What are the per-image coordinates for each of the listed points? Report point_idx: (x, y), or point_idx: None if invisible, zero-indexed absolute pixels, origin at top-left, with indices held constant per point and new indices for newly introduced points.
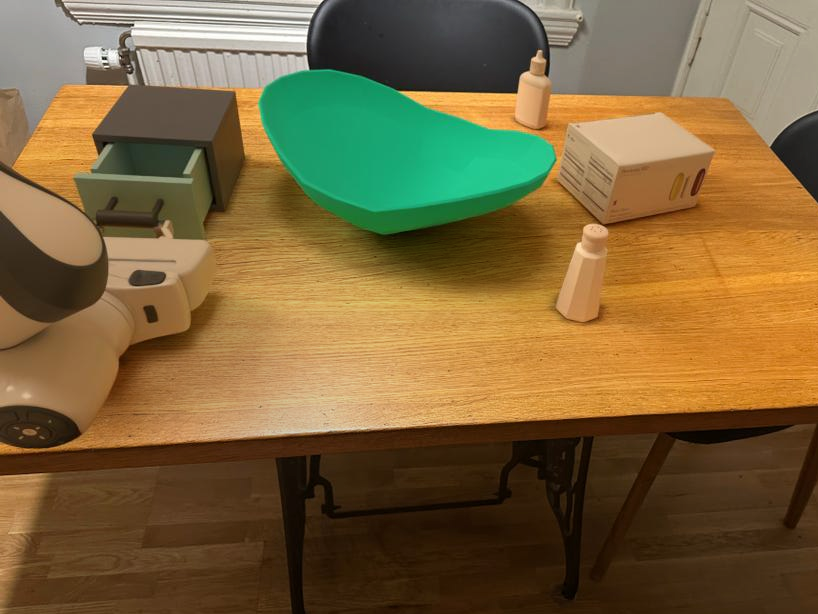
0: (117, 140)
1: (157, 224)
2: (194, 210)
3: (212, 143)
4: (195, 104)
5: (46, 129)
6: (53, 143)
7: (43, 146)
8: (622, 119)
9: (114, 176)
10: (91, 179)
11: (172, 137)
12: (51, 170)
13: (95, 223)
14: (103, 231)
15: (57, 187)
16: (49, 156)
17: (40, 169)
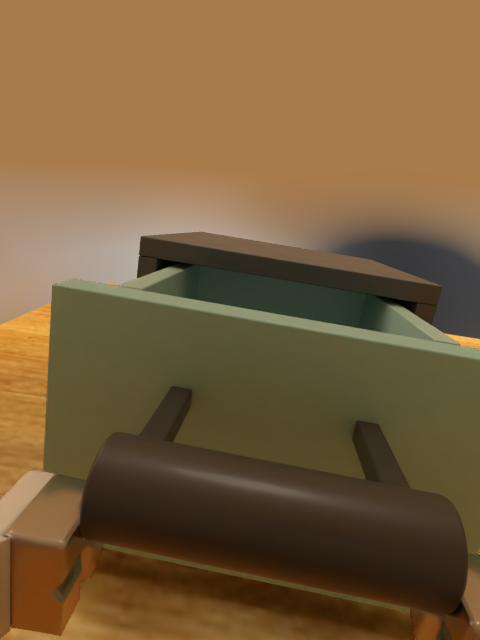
0: (197, 259)
1: (475, 591)
2: None
3: (440, 293)
4: (325, 255)
5: (47, 304)
6: (48, 317)
7: (32, 318)
8: None
9: (210, 305)
10: (120, 300)
11: (336, 268)
12: (24, 346)
13: (70, 524)
14: (95, 563)
15: (18, 372)
16: (33, 329)
17: (6, 342)
